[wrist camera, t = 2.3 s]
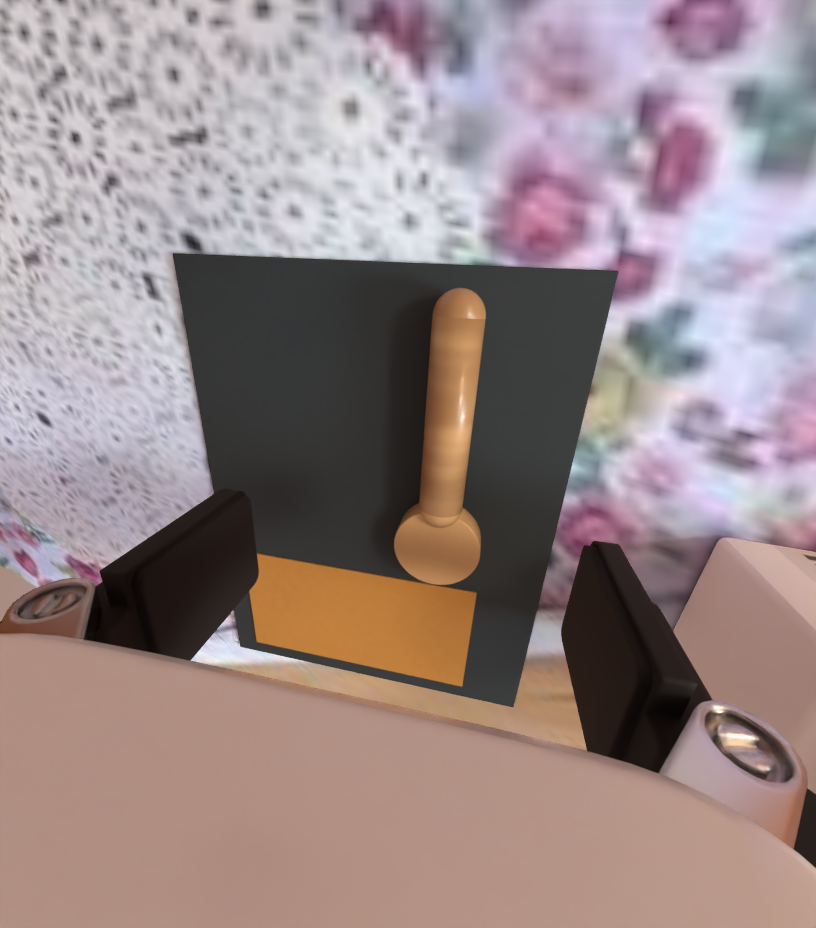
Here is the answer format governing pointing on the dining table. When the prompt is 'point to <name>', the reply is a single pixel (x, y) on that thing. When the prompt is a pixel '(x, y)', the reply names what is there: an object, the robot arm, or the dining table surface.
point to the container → (758, 636)
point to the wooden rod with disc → (446, 448)
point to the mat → (388, 452)
